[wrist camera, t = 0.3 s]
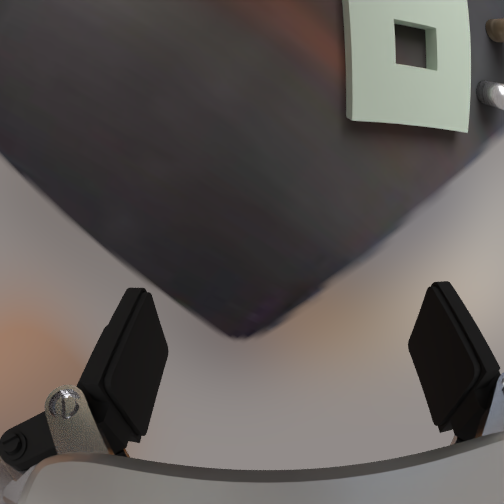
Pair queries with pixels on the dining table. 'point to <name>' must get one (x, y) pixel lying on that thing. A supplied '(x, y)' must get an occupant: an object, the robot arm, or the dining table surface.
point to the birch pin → (495, 29)
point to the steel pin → (491, 93)
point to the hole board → (402, 76)
